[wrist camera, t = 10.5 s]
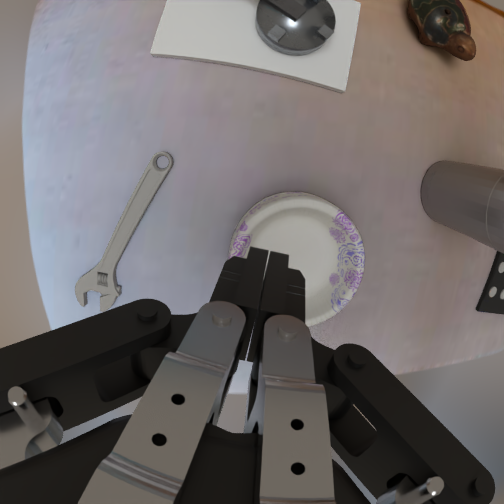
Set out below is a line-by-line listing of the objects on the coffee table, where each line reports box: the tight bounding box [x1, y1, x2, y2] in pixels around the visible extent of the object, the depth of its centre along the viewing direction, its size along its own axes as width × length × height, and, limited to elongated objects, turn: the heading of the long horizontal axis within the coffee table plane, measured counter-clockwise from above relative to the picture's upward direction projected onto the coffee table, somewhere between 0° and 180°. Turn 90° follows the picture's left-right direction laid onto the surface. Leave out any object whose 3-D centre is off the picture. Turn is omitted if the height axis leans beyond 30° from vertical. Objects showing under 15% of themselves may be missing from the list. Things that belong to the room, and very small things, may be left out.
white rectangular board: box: [150, 0, 361, 93], centre depth 30 cm, size 24×14×2 cm, turn 78°
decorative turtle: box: [407, 0, 476, 61], centre depth 27 cm, size 10×15×8 cm, turn 27°
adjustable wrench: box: [75, 152, 173, 312], centre depth 39 cm, size 25×6×2 cm, turn 142°
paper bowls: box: [228, 192, 365, 327], centre depth 37 cm, size 15×15×8 cm
